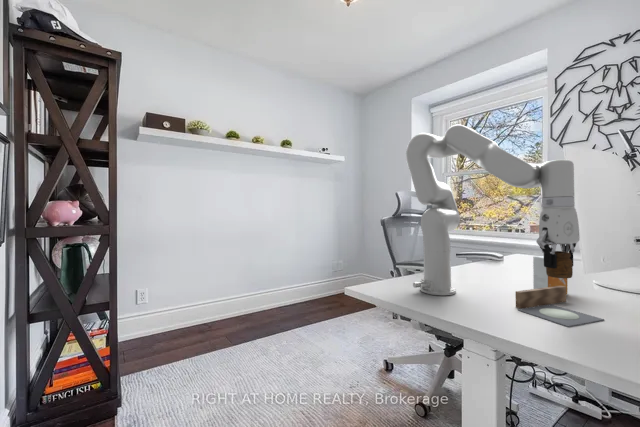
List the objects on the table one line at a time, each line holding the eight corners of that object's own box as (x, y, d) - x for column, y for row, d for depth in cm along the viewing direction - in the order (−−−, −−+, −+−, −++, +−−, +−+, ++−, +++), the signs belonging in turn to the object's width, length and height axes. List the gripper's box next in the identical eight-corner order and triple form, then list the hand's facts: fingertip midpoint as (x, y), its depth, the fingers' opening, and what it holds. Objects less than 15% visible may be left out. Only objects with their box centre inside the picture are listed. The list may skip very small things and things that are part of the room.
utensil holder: (576, 279, 82) (575, 235, 82) (547, 277, 84) (547, 235, 84) (568, 275, 87) (568, 234, 87) (542, 273, 90) (541, 233, 90)
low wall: (520, 308, 92) (520, 292, 92) (515, 307, 93) (515, 291, 93) (566, 301, 98) (566, 286, 98) (561, 300, 99) (561, 285, 99)
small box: (548, 295, 105) (547, 258, 104) (532, 291, 111) (532, 256, 111) (568, 294, 106) (568, 257, 106) (552, 290, 112) (551, 255, 112)
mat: (568, 327, 77) (568, 325, 77) (517, 310, 90) (517, 308, 90) (604, 320, 81) (604, 318, 81) (550, 305, 94) (550, 303, 94)
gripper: (549, 203, 79) (550, 271, 79) (593, 203, 84) (594, 266, 85) (522, 204, 87) (523, 266, 87) (564, 203, 92) (565, 262, 92)
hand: (558, 266), depth 86 cm, fingers closed on utensil holder, 5 cm apart
